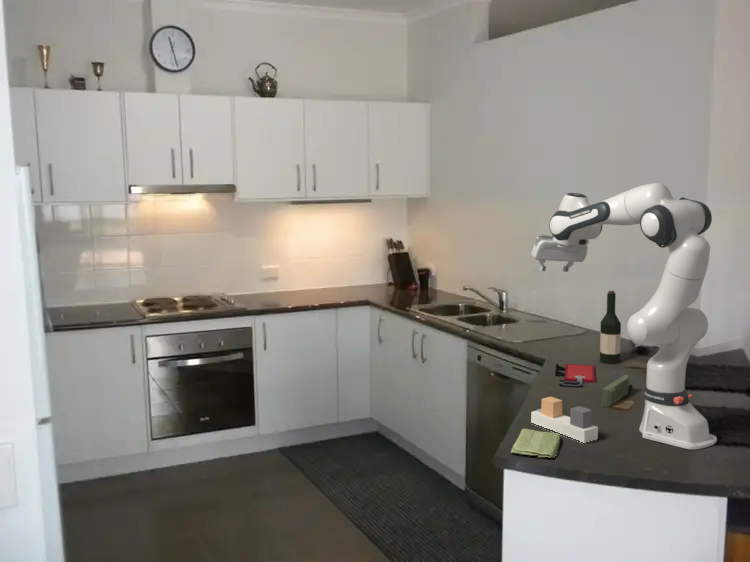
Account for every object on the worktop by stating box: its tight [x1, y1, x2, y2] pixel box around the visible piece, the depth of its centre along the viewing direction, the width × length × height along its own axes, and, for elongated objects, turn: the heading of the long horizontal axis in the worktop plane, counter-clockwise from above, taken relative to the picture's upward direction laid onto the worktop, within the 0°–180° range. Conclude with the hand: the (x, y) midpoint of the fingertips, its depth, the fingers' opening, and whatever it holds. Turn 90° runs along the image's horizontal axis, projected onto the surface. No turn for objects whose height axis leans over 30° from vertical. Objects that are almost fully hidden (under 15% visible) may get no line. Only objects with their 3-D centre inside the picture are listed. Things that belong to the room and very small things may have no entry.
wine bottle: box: [599, 290, 622, 365], centre depth 312 cm, size 8×8×30 cm
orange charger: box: [540, 396, 563, 418], centre depth 238 cm, size 5×4×7 cm
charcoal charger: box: [569, 405, 593, 429], centre depth 228 cm, size 5×4×7 cm
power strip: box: [530, 408, 599, 444], centre depth 235 cm, size 22×6×5 cm, turn 33°
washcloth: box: [510, 428, 561, 459], centre depth 222 cm, size 13×18×3 cm
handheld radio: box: [601, 374, 634, 408], centre depth 267 cm, size 7×3×25 cm
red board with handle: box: [554, 363, 596, 387], centre depth 294 cm, size 30×3×15 cm
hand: (553, 270), depth 271 cm, fingers open, 8 cm apart
